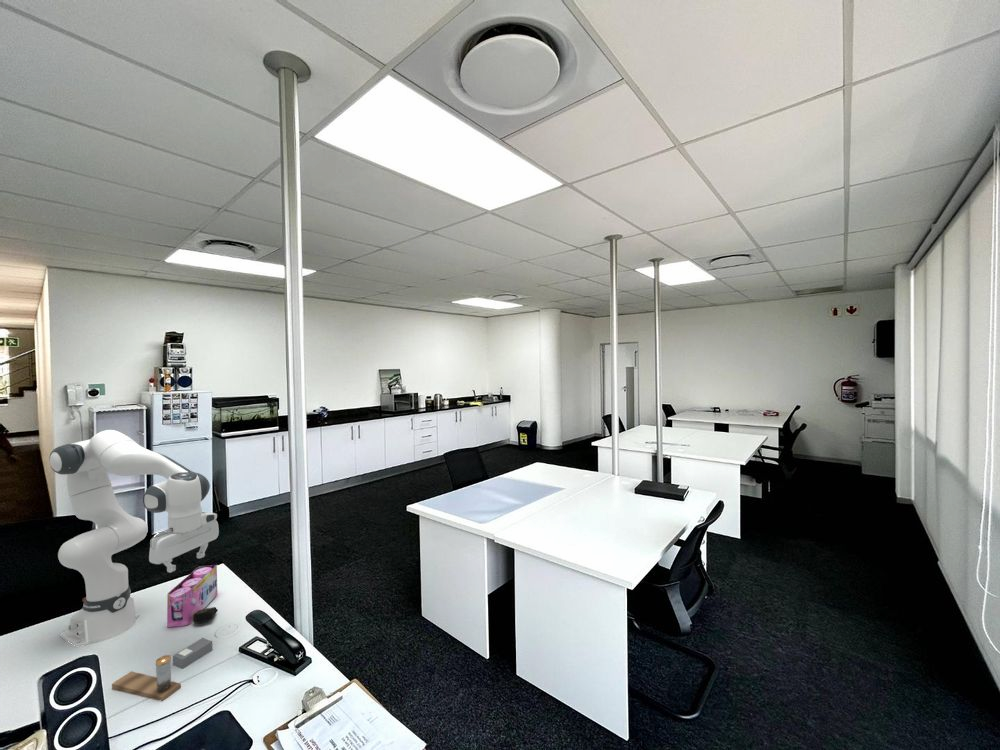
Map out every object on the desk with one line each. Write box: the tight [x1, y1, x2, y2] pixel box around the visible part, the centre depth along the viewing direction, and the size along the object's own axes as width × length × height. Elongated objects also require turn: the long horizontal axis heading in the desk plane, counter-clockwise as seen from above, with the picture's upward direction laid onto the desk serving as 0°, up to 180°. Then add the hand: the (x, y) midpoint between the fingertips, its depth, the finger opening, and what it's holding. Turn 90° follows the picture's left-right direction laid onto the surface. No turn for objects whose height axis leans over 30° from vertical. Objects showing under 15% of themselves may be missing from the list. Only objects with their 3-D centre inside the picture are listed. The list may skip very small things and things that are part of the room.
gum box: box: [166, 564, 218, 628], centre depth 157 cm, size 22×7×13 cm, turn 11°
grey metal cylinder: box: [155, 654, 172, 693], centre depth 115 cm, size 3×3×9 cm
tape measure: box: [192, 606, 219, 624], centre depth 150 cm, size 7×7×4 cm
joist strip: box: [111, 670, 182, 702], centre depth 117 cm, size 20×5×2 cm, turn 75°
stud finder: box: [172, 637, 213, 670], centre depth 130 cm, size 5×9×4 cm, turn 159°
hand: (186, 564), depth 131 cm, fingers open, 8 cm apart
